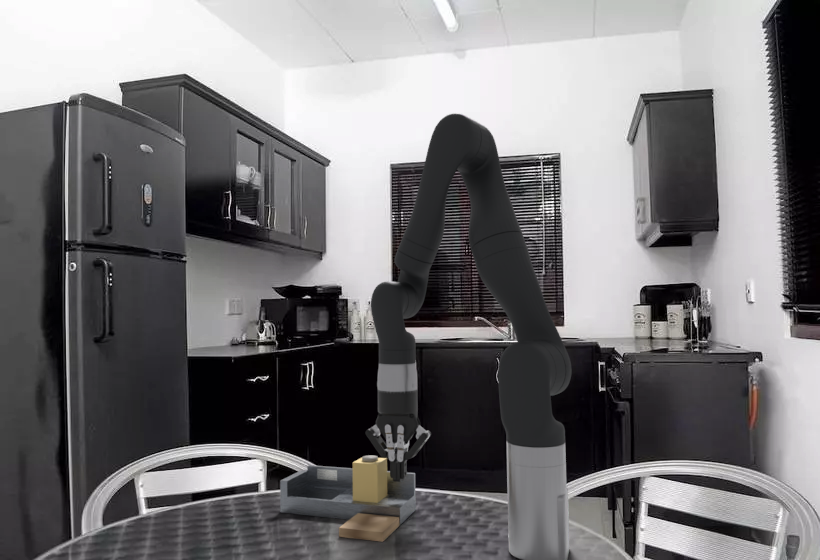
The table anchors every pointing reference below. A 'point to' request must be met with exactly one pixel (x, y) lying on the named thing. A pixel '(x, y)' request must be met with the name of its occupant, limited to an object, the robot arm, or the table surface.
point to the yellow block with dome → (370, 479)
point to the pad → (369, 527)
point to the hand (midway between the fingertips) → (398, 480)
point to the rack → (342, 495)
